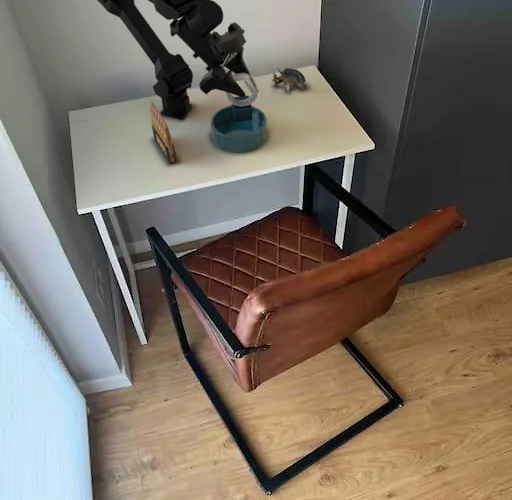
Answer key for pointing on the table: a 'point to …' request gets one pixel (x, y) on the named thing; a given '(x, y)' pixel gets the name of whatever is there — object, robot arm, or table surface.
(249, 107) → the watch
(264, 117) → the bowl
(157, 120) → the ammunition clip
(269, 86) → the table surface
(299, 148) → the table surface
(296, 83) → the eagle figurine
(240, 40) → the robot arm
